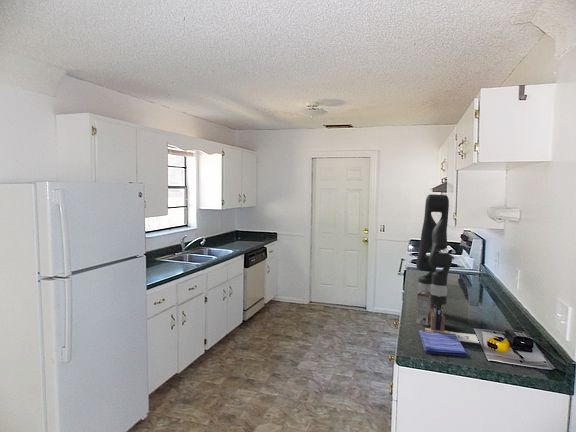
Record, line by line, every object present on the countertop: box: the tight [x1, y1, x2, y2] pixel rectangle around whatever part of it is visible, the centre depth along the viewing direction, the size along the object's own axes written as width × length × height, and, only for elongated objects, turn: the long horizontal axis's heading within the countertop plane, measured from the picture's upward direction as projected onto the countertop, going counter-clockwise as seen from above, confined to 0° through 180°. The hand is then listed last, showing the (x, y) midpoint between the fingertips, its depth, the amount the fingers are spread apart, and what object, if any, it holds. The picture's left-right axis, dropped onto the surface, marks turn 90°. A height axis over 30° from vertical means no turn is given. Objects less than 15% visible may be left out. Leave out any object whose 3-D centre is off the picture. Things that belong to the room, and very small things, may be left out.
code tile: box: [449, 331, 480, 344], centre depth 186 cm, size 12×12×1 cm
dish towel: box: [418, 329, 468, 357], centre depth 175 cm, size 17×24×3 cm
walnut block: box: [430, 313, 446, 332], centre depth 190 cm, size 6×6×7 cm
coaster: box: [424, 327, 450, 334], centre depth 191 cm, size 10×11×1 cm
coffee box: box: [416, 291, 435, 327], centre depth 207 cm, size 9×6×16 cm
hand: (437, 327), depth 190 cm, fingers closed on walnut block, 6 cm apart
